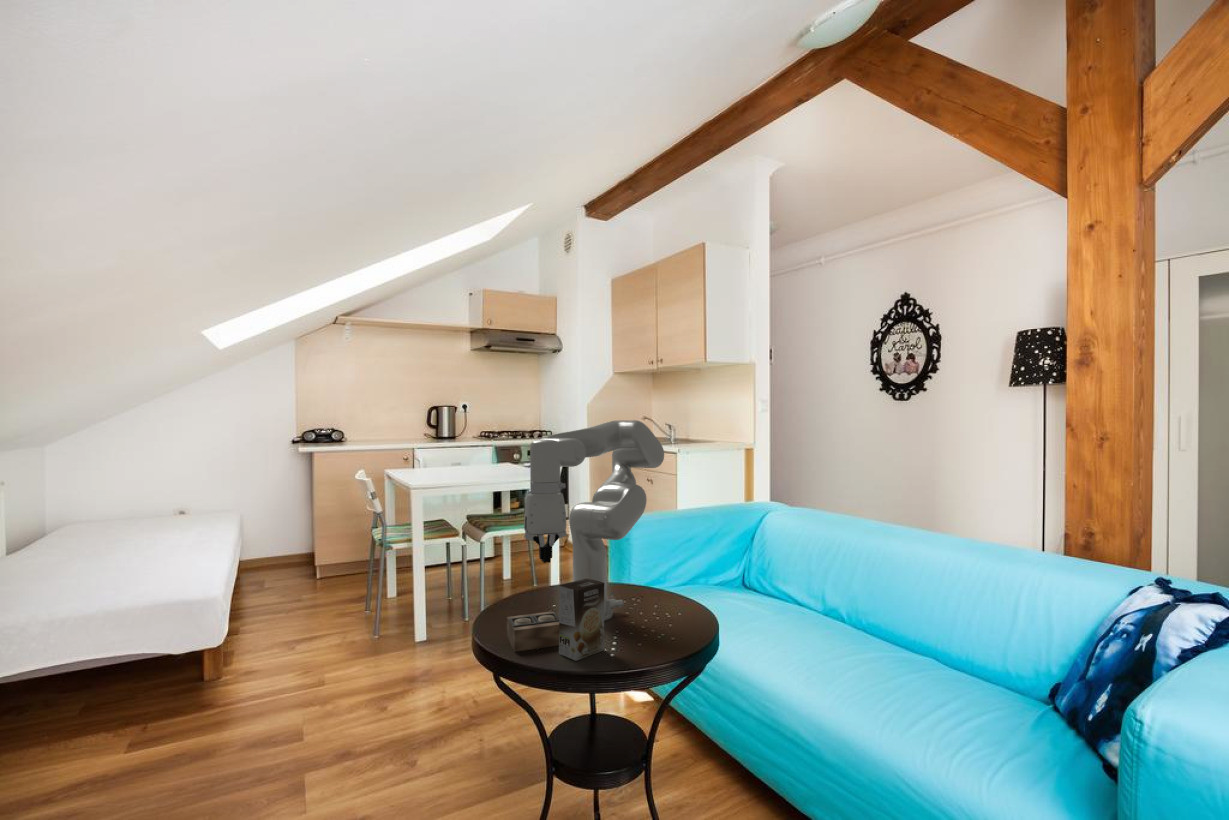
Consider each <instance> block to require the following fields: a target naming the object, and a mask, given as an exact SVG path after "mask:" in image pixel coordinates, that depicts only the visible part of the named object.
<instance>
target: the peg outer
mask: <svg viewBox="0 0 1229 820" xmlns="http://www.w3.org/2000/svg"><path fill="white" fill-rule="evenodd" d="M527 623H531V620H530V619H528V618H520V619H517V620H515V625H519V624H527Z"/></svg>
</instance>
